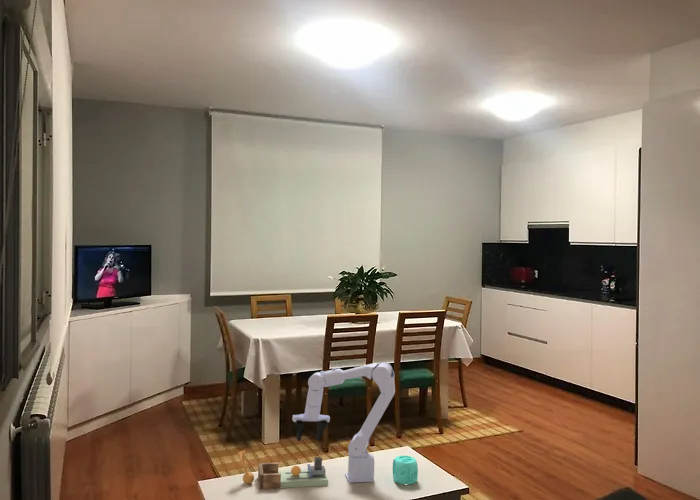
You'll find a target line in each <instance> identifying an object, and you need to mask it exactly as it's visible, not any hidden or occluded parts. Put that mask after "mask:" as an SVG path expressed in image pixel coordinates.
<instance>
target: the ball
mask: <svg viewBox="0 0 700 500" xmlns="http://www.w3.org/2000/svg"><path fill="white" fill-rule="evenodd" d="M301 470H302V469H301V467H300V466H299V465H294V466H292V467H291V470H290V471H291V473H292V475H294V476H298V475H299V474H300V473H301Z"/></svg>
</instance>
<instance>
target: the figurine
mask: <svg viewBox="0 0 700 500" xmlns="http://www.w3.org/2000/svg"><path fill="white" fill-rule="evenodd" d="M245 454H246V450H245V449H244V450H242V451H238V453H237V457H238V458H239V460H240V463H241V464H242V467H243V471H244V472H245V473H244V474H243V476H242V481H243V483H244V484H246V485H251V484H252V483H253V482H254V480H255V476H254V473H252V472H250V471H249V470H248V468H249V463H248V461H246V460H248V459H247V457H246V455H245Z"/></svg>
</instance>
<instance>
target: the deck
mask: <svg viewBox="0 0 700 500" xmlns="http://www.w3.org/2000/svg"><path fill="white" fill-rule="evenodd" d="M278 473H281V487H280V489H281V488H285V489H286V488H301V487H302V488H305V487H319V486H320V487H322V486H326V487H327V486H328V485H329V479H328V476H327V475H326V473H325V475H320V476H312V478H310V476H309V473H308V470H307V469H301V473H300V474H299V475H298V476H294V475H292V473H291V470H278Z"/></svg>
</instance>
